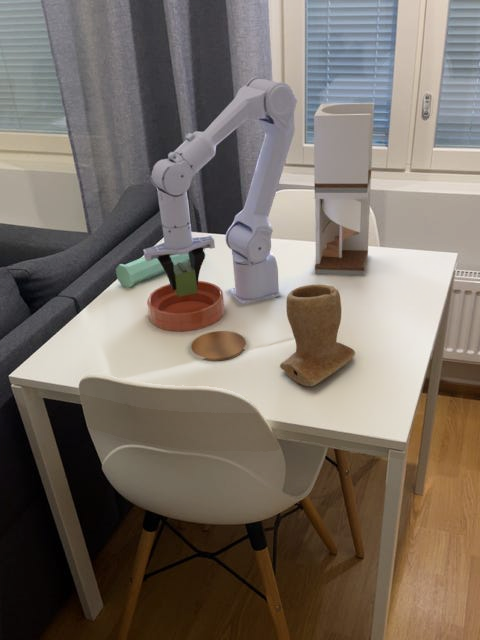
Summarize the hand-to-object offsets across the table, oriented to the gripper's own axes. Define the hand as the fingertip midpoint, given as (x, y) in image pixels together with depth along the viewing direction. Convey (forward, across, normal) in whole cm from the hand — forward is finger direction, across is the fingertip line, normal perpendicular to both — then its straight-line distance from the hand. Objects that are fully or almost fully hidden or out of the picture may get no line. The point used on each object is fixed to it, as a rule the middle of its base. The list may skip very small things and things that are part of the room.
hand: (184, 285), depth 147 cm
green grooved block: (+1, 0, 0) cm, 1 cm away
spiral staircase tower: (+7, +41, +8) cm, 42 cm away
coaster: (+7, +2, -16) cm, 17 cm away
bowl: (+7, 0, 0) cm, 7 cm away
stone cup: (+7, +16, -31) cm, 35 cm away
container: (+7, +2, +26) cm, 27 cm away
